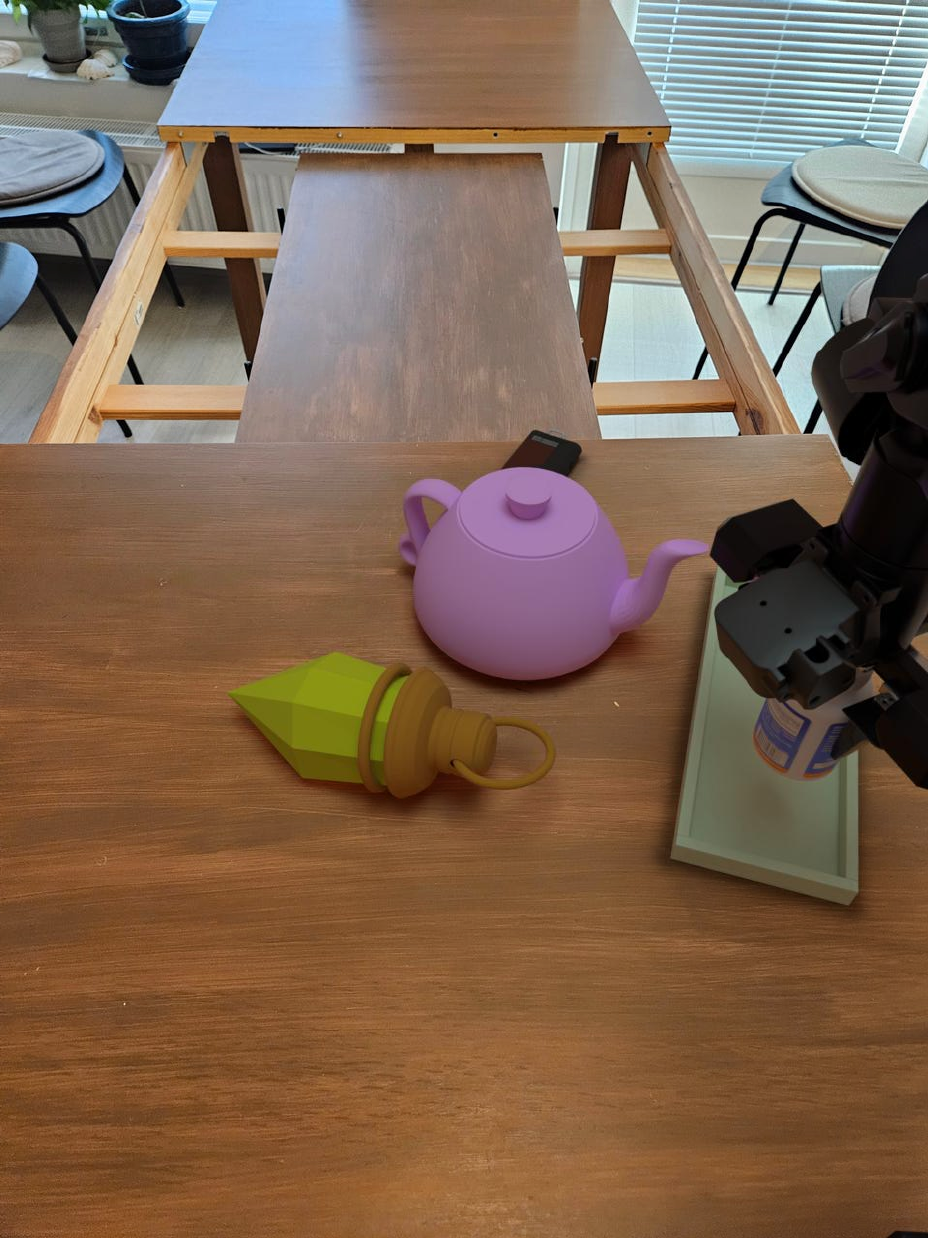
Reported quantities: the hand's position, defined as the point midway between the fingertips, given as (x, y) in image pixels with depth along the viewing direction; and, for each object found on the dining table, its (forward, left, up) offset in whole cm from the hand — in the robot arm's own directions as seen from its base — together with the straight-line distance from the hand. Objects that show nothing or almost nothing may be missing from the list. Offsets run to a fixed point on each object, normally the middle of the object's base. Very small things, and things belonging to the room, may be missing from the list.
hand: (807, 720), depth 55 cm
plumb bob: (-4, +27, -11) cm, 29 cm away
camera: (+31, +24, -11) cm, 40 cm away
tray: (+8, 0, -11) cm, 14 cm away
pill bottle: (0, 0, -3) cm, 3 cm away
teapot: (+13, +20, -11) cm, 26 cm away
